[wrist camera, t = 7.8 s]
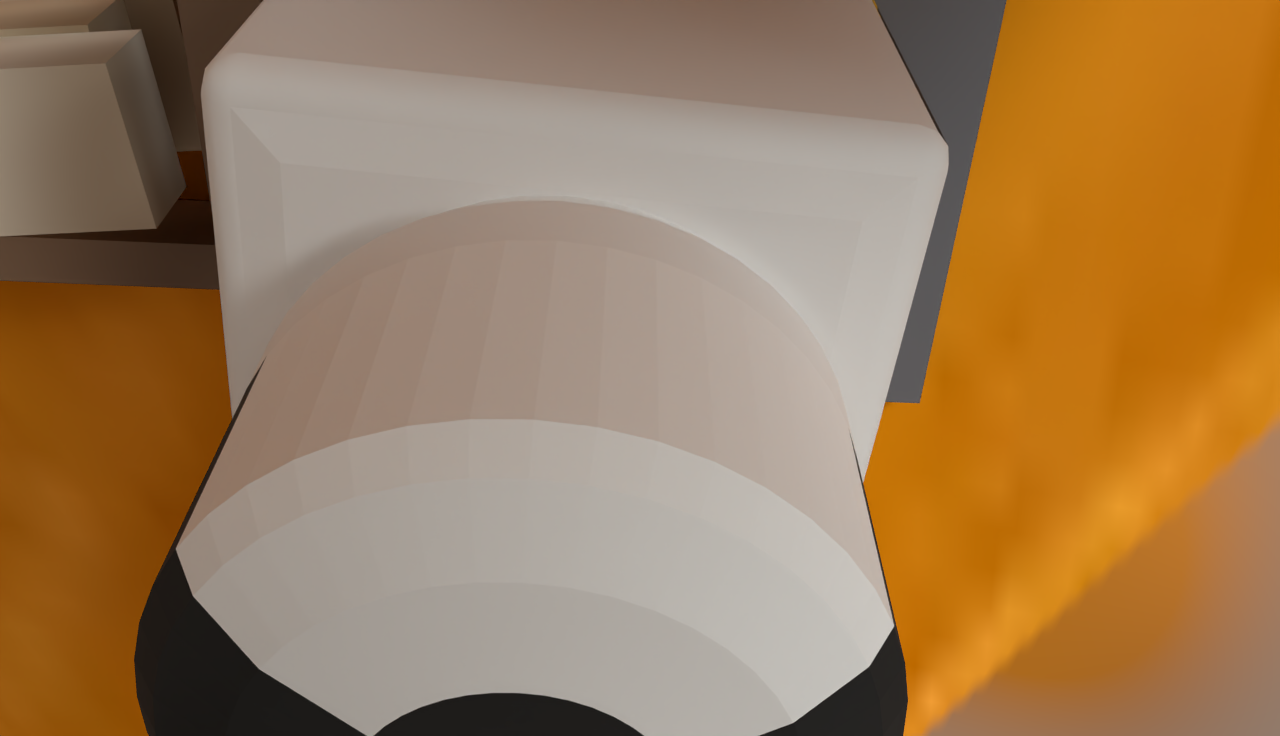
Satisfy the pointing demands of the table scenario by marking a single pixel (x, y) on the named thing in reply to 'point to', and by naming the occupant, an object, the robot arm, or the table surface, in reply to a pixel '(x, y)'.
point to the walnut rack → (185, 235)
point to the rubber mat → (955, 93)
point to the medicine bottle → (549, 372)
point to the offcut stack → (92, 115)
